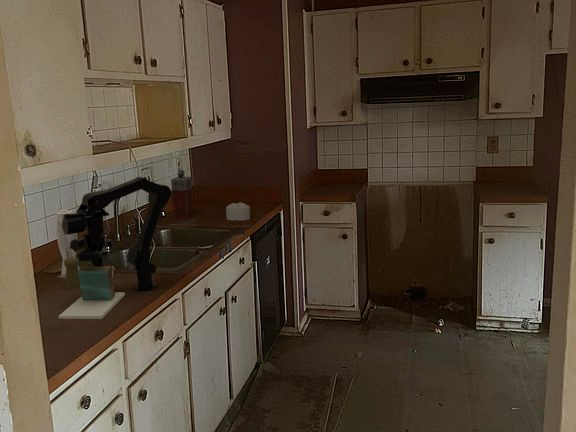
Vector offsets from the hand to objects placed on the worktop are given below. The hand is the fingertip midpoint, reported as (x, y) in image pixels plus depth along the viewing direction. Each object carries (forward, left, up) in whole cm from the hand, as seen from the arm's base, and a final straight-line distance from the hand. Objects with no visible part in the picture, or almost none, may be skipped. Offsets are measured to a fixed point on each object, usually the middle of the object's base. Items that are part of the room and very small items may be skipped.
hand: (99, 273), depth 198 cm
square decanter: (-133, -4, -9) cm, 134 cm away
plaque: (+3, 0, -8) cm, 8 cm away
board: (+8, 0, -9) cm, 12 cm away
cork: (-13, -16, -9) cm, 23 cm away
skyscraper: (-26, -23, -9) cm, 36 cm away
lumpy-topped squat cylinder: (-129, +30, -10) cm, 133 cm away
